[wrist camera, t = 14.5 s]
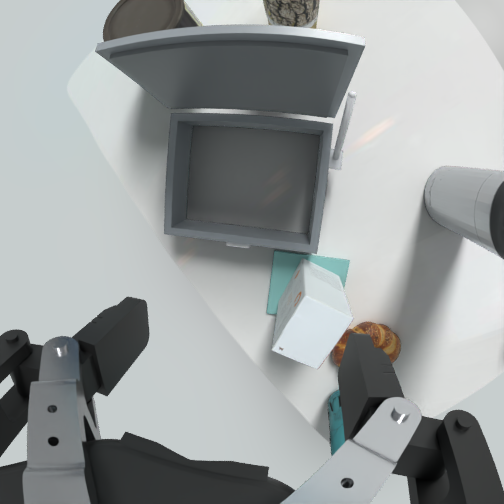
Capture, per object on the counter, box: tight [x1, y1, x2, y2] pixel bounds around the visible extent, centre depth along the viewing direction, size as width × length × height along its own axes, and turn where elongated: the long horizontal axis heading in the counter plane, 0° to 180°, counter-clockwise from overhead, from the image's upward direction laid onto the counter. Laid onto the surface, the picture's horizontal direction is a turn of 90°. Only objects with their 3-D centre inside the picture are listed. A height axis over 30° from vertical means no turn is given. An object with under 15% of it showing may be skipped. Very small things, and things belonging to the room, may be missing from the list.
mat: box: [267, 250, 350, 314], centre depth 44 cm, size 11×10×1 cm
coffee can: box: [103, 0, 203, 42], centre depth 30 cm, size 10×10×14 cm
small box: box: [272, 258, 354, 369], centre depth 37 cm, size 8×6×13 cm
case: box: [164, 91, 357, 254], centre depth 34 cm, size 22×19×14 cm
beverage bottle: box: [328, 390, 345, 456], centre depth 40 cm, size 6×7×20 cm
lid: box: [95, 25, 365, 118], centre depth 24 cm, size 20×16×1 cm
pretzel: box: [332, 322, 401, 366], centre depth 44 cm, size 12×11×4 cm
